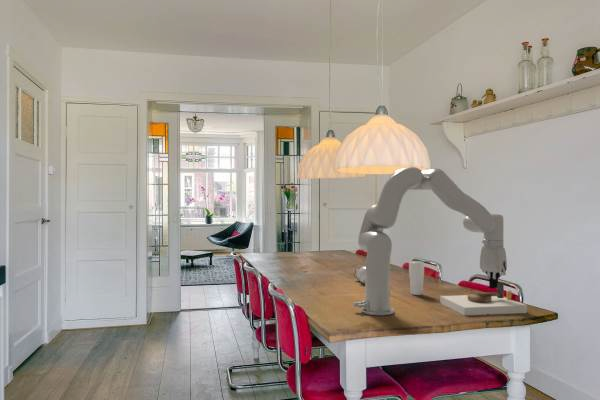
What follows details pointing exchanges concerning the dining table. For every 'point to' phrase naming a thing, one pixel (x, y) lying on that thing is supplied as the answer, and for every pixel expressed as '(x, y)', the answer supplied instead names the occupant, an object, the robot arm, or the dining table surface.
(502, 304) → the stand
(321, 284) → the dining table surface
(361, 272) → the potion bottle
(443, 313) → the dining table surface
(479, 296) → the brown l-shaped piece
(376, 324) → the dining table surface
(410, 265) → the drinking glass
